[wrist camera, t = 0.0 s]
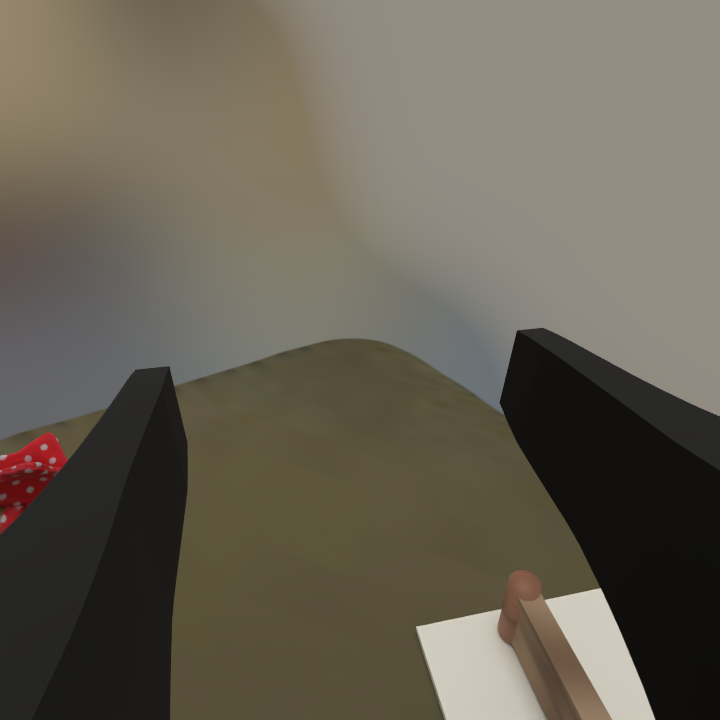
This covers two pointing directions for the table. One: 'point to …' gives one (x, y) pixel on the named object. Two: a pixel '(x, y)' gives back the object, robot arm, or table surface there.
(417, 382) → the table surface
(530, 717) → the card
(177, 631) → the table surface
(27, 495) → the bird rattle
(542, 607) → the brown wooden bar
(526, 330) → the robot arm
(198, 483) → the table surface
